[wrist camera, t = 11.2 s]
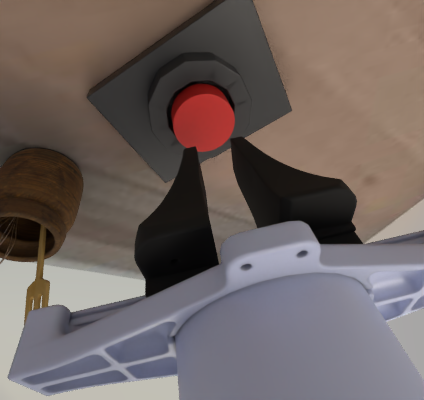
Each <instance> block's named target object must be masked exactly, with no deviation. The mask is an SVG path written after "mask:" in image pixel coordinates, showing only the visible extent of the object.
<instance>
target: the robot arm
mask: <svg viewBox="0 0 424 400" xmlns="http://www.w3.org/2000/svg"><path fill="white" fill-rule="evenodd" d="M230 142H231V151H232V161H233V170H234V173H235V176H236V179H237V182H238V185H239V187H240V189H241V192H242V194H243V196H244V198H245V200H246V202H247V204H248V206H249V208H250V210H251V213H252V215H253V217H254V220H255V222H256V225H257V229H252V230H248V231H244V232H239V233H237V234H235V235H232V236H230V237H229V238H228V239H227V240H226V241H225V242H224V243H222V245H221V249H220V255H221V264H219V262H218V257H217V252H216V248H215V243H214V238H213V234H212V229H211V224H210V220H209V215H208V207H207V199H206V191H205V186H204V181H203V176H202V171H201V167H200V162H199V157H198V152H197V149H196V146H194V147H190V148H185V149H184V150H183V156H182V160H181V164H180V167H179V171H178V173H177V176H176V178H175V181H174V183H173V185H172V187H171V189H170V190H169V192H168V194H167V195H166V197H165V198H164V200H163V201H162V203H161V204H160V205H159V206H158V208H157V209H156V210H155V211H154V212H153V213H152V214H151V215H150V216H149V217H148V218H147V219H146V220H144V221H143V222H142V223H141V224H140V225H139V227H138V231H137V235H136V240H135V255H134V258H135V261H136V264H137V266H138V267H139V269H140V271H141V272H142V274H143V276H144V278H145V279H146V288H145V290H146V291H145V292H146V294H145V295H144V296H140V297H136V298H132V299H127V300H123V301H119V302H114V303H110V304H106V305H101V306H98V307H93V308H89V309H84V310H80V311H76V312H70V310H69V309H68V308H67V307H65V306H63V305H52V306H48V307H44V308H39V309H35V310H31V311H29V313H28V316H27V319H26V322H25V325H24V328H23V331H22V334H21V337H20V341H19V344H18V347H17V350H16V353H15V356H14V359H13V362H12V365H11V368H10V371H9V374H8V379H9V380H11V381H13V382H16V383H18V384H20V385H23V386H25V387H27V388H30V389H32V390H34V391H36V392H39V393H41V394H43V395H46V396H50V395H54V394H58V393H63V392H68V391H72V390H78V389H83V388H89V387H95V386H102V385H108V384H116V383H124V382H131V381H139V380H147V379H155V378H163V377H170V376H178V385H179V399H180V400H424V380H423V378H422V377H421V375H420V374H419V372H418V371H417V369H416V367H415V366H414V364H413V363H412V361H411V360H410V358H409V356H408V355H407V353H406V352H405V350H404V349H403V347H402V346H401V344H400V342H399V341H398V339H397V338H396V336H395V335H394V333H393V332H392V330H391V328H390V327H389V325H388V324H387V321H390V320H393V319H395V318H398V317H401V316H404V315H406V314H409V313H412V312H415V311H418V310H420V309H423V308H424V230H423V231H419V232H415V233H410V234H406V235H402V236H397V237H393V238H389V239H384V240H381V241H376V242H372V243H368V244H363V243H362V241H361V240H360V239H359V237H358V236H357V235H356V233H355V232H354V231H355V230H356V228H355V226H354V225H353V223H352V222H351V221H352V218H353V215H354V211H355V208H356V203H357V199H356V196H355V195H354V193H353V192H352V191H351V190H350V189H349V187H348V186H347V185H346V184H345V183H344V182H343V181H342V180H341V179H335V178H329V177H323V176H318V175H314V174H310V173H307V172H303V171H300V170H297V169H295V168H292V167H290V166H287V165H285V164H283V163H281V162H279V161H277V160H275V159H273V158H271V157H270V156H268V155H266V154H265V153H263V152H262V151H260V150H259V149H258V148H256V147H255V146H253V145H252V144H251V143H250V142H248V141H247V140H246V139H244V138H243V137H242V136H241V137H236V138H231V139H230Z"/></svg>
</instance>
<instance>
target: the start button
mask: <svg viewBox="0 0 424 400" xmlns="http://www.w3.org/2000/svg"><path fill="white" fill-rule="evenodd" d="M171 117H172V123H173V130H174V133H175V136H176V138H177V139H178V141H179V142H180V143H181V144H182V145H183V146H185V147H186V148H190V147H194V146H196V149H197V151H199V152H205V151H211V150H214V149H216V148H218V147H220V146H221V145H223V144H224V143H225V142H226V141H227V140H228V139H229V137H230V136H231V134H232V132H233V129H234V124H235V117H234V112H233V110H232V108H231V106H230V104H229V102H228V100H227V98H226V97H225V95H224V94H223V93H222V92H221V91H220V90H219V89H218V88H216V87H214V86H212V85H209V84H195V85H191V86H189V87H187V88H185V89H184V90H182V91H181V92H180V93H179V94H178V95H177V97H176V98H175V100H174V102H173V105H172V110H171Z"/></svg>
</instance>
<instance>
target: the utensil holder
mask: <svg viewBox="0 0 424 400" xmlns="http://www.w3.org/2000/svg"><path fill="white" fill-rule="evenodd" d="M82 192H83V177H82V174H81V172H80V170H79V169H78V167H77V166H76V165H75V164H74V163H73V162H72V161H71V160H70V159H68V158H67V157H65V156H64V155H62V154H60V153H57V152H55V151H52V150H48V149H41V148H31V149H25V150H22V151H19V152H17V153H15V154H14V155H12V156H11V157H10V158H9V159H8V160H7V161H6V162H5V163H4V164H3V166H2V167H1V168H0V258H3V259H2V261H3V260H4V259H7V260H12V261H18V262H34V261H37V272H36V279H35V281H34V282H33V283H32V284H31V285H30V286H29V287H28V289H27V296H26V308H25V320H24V325H25V322H26V319H27V316H28V313H29V311H31V310H32V303H33V299H34V308H33V310H35V309H39V308H40V301H41V296H42V308H44V307H48V300H49V289H50V282H49V281H48V280H44V279H43V266H44V259H47V258H49V257H51V256H53V255H54V254H56V253H57V252H58V250H59V249H60V248H61V246H62V244H63V242H64V240H65V238H66V233H67V232H68V231H69V230H70V229H71V227H72V225H73V223H74V221H75V218H76V216H77V212H78V209H79V205H80V201H81V197H82ZM2 261H1V262H2ZM1 262H0V264H1Z"/></svg>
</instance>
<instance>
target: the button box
mask: <svg viewBox="0 0 424 400" xmlns="http://www.w3.org/2000/svg"><path fill="white" fill-rule="evenodd" d="M195 84H209V85H212V86H214V87H216V88H218V89H219V90H220V91H221V92H222V93H223V94H224V95H225V97H226V98H227V100H228V102H229V104H230V106H231V108H232V110H233V112H234V117H235V124H234V129H233V132H232V134H231V136H230V137H229V139H228V140H227V141H226V142H225V143H224V144H223V145H221V146H220V147H218V148H216V149H214V150H211V151H205V152H199V151H197V152H198V157H199V162H200V163H202V162H203V161H205V160H207V159H209V158H213V157H215V156H217V155H219V154H220V153H222V152H224V151H226V150H227V149H229V148H231V142H230V139H231V138H236V137H241V136H242V137H243V138H245V137H247V136H249V135H250V134H252V133H254V132H256V131H257V130H259V129H261V128H263V127H264V126H266V125H268V124H270V123H271V122H273V121H275V120H277V119H278V118H280V117H282V116H284V115H285V114H287V113H289V112H291V111H292V109H291V106H290V103H289V100H288V98H287V95H286V92H285V89H284V87H283V84H282V81H281V78H280V75H279V73H278V70H277V67H276V64H275V62H274V59H273V56H272V53H271V50H270V48H269V45H268V42H267V39H266V36H265V34H264V31H263V28H262V25H261V23H260V20H259V17H258V14H257V11H256V9H255V6H254V3H253V0H216V1H214V2H213V3H212V4H210V5H209V6H207V7H206V8H205V9H203V10H202V11H200V12H199V13H197V14H196V15H195V16H193V17H192V18H190V19H189V20H188V21H186V22H185V23H183V24H182V25H181V26H179V27H178V28H176V29H175V30H174V31H172V32H171V33H169V34H168V35H166V36H165V37H164V38H162V39H161V40H159V41H158V42H157V43H155V44H154V45H152V46H151V47H150V48H148V49H147V50H145V51H144V52H142V53H141V54H140V55H138V56H137V57H135V58H134V59H133V60H131V61H130V62H128V63H127V64H126V65H124V66H123V67H121V68H120V69H119V70H117V71H116V72H114V73H113V74H111V75H110V76H109V77H107V78H106V79H104V80H103V81H102V82H100V83H99V84H97V85H96V86H95V87H93V88H92V89H90V91H89V93H88V96H87V99H88V100H89V101H90V102H91V103H92V104H93V105H94V106H95V107H96V108H97V109H98V111H99V112H100V113H101V114H102V115H103V116H104V117H105V118H106V119H107V120H108V121H109V122H110V124H111V125H112V126H113V127H114V128H115V129H116V130H117V131H118V132H119V133H120V134H121V135H122V136H123V138H124V139H125V140H126V141H127V142H128V143H129V144H130V145H131V146H132V147H133V148H134V149H135V150H136V152H137V153H138V154H139V155H140V156H141V157H142V158H143V159H144V160H145V161H146V162H147V163H148V165H149V166H150V167H151V168H152V169H153V170H154V171H155V172H156V173H157V174H158V175H159V176H160V177H161V179H162V180H163V181H164V182H165V183H167V182H168V181H170V180H172V179H174V178H175V177H176V176H177V173H178V171H179V167H180V164H181V160H182V156H183V150H184V149H185V148H186V147H185V146H183V145H182V144H181V143H180V142H179V141H178V139H177V138H176V136H175V133H174V130H173V123H172V117H171V110H172V105H173V102H174V100H175V98H176V97H177V95H178V94H179V93H180V92H181V91H182V90H184V89H185V88H187V87H189V86H191V85H195Z"/></svg>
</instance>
